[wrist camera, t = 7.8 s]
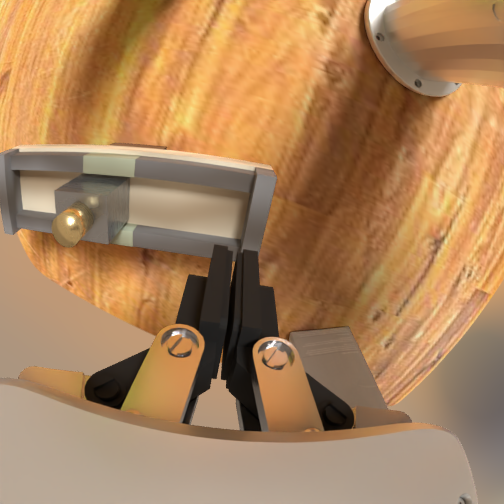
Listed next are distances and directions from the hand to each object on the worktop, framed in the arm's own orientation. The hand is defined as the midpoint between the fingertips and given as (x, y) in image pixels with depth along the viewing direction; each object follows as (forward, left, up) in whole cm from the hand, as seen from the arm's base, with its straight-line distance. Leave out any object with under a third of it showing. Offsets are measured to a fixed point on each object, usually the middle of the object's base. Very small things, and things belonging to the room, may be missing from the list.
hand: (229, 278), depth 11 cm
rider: (+1, -9, -9) cm, 13 cm away
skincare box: (+19, +14, -15) cm, 28 cm away
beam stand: (+1, -9, -15) cm, 17 cm away
